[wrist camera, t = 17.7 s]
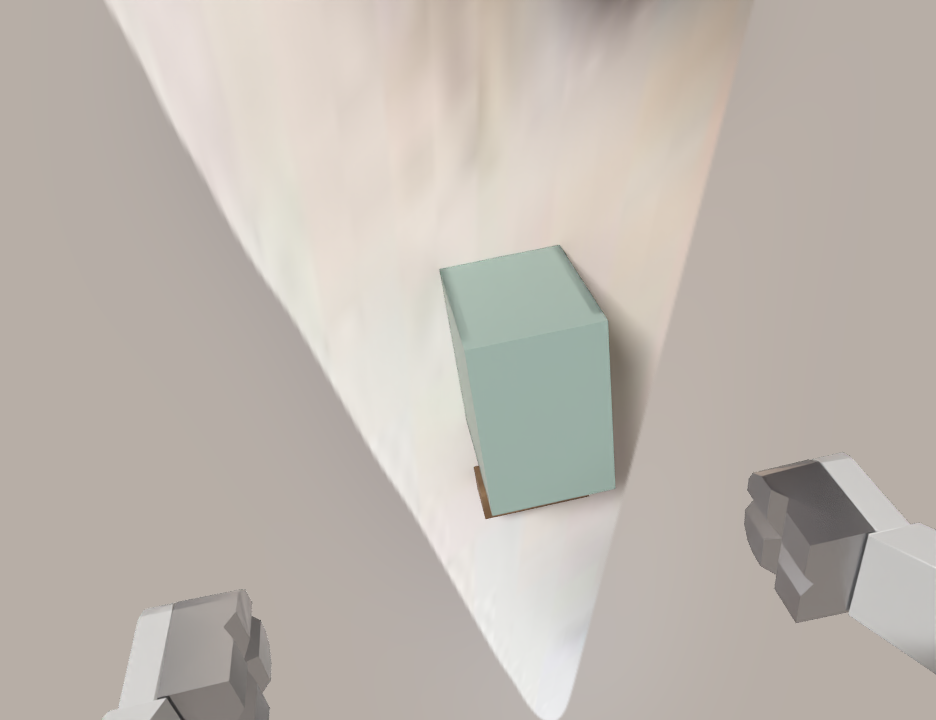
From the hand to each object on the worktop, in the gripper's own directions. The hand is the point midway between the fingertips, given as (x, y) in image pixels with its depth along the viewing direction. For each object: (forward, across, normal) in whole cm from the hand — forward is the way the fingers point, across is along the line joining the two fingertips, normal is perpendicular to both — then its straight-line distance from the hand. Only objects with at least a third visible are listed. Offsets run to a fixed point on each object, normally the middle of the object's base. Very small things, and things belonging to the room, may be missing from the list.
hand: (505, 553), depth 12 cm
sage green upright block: (+30, -5, +17) cm, 35 cm away
